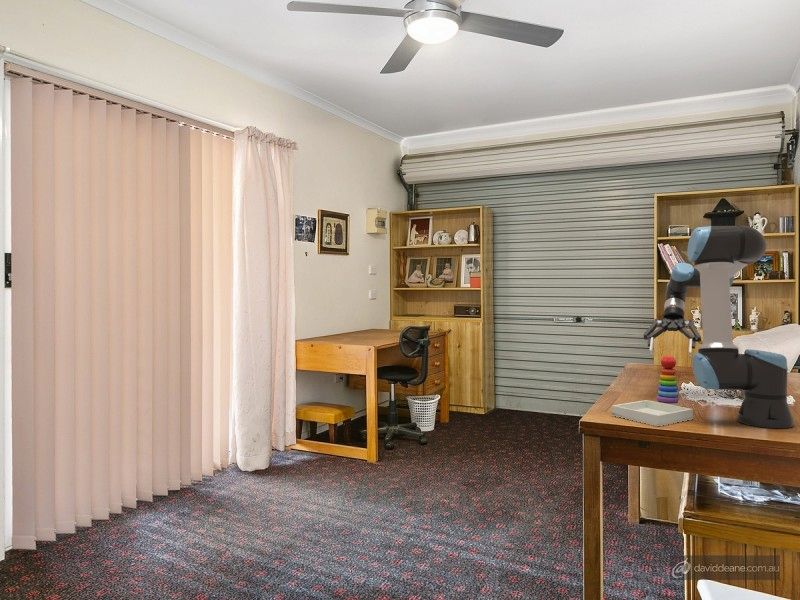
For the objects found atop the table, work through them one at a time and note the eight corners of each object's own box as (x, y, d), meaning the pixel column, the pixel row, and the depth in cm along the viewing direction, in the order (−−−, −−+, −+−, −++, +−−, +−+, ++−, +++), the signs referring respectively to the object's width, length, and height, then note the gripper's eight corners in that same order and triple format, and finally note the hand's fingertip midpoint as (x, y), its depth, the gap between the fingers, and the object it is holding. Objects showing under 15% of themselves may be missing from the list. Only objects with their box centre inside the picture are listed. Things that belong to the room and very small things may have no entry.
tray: (692, 419, 194) (692, 409, 193) (658, 426, 184) (658, 415, 184) (645, 409, 209) (645, 399, 209) (611, 415, 200) (611, 405, 200)
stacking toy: (682, 409, 209) (682, 357, 208) (658, 408, 211) (658, 356, 210) (676, 404, 217) (676, 354, 216) (653, 404, 218) (653, 354, 218)
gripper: (709, 318, 231) (707, 361, 218) (641, 317, 243) (636, 357, 231) (709, 306, 226) (707, 348, 213) (639, 305, 238) (634, 345, 226)
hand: (670, 353), depth 222 cm, fingers open, 13 cm apart
